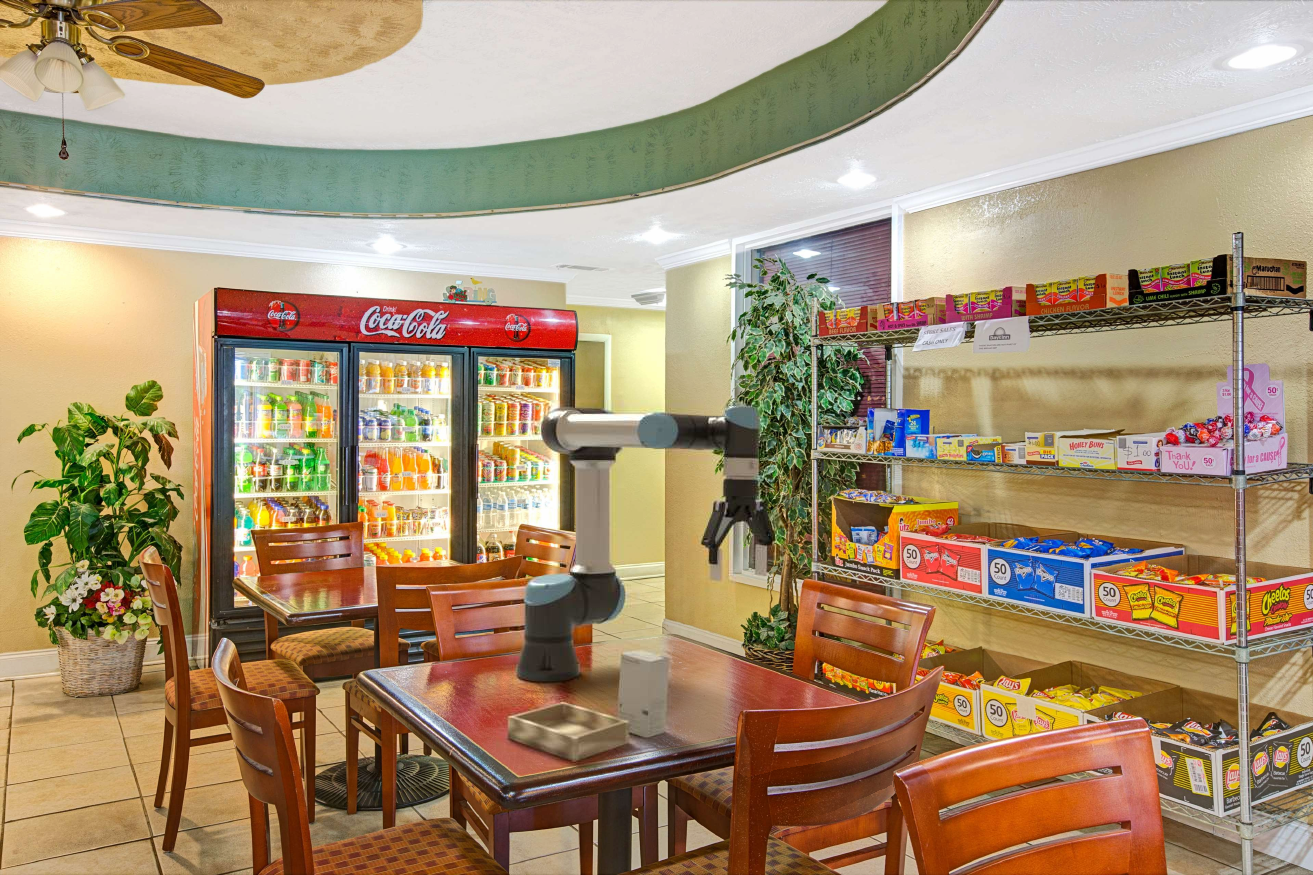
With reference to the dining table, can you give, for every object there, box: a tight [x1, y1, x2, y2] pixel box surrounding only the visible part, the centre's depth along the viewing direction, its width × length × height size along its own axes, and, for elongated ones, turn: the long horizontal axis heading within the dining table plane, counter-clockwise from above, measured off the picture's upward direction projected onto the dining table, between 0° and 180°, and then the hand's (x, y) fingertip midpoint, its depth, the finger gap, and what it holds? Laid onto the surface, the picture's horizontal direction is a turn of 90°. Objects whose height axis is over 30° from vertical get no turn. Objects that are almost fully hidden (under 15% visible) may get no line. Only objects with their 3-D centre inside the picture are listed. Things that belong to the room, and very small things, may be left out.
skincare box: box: [616, 649, 670, 739], centre depth 173 cm, size 8×6×15 cm
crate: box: [507, 701, 630, 763], centre depth 166 cm, size 18×14×4 cm
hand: (738, 577), depth 191 cm, fingers open, 13 cm apart
